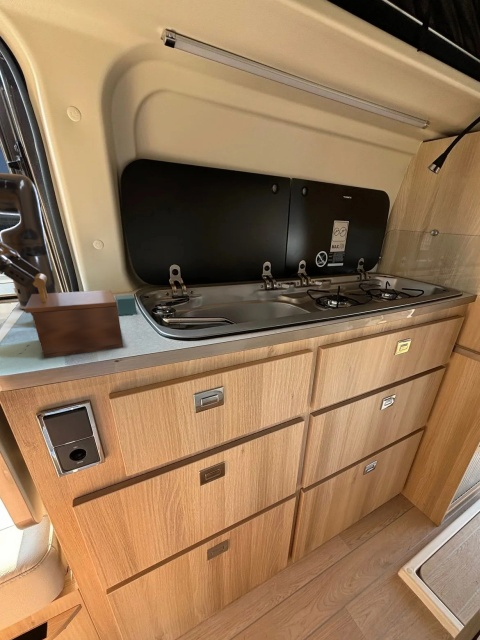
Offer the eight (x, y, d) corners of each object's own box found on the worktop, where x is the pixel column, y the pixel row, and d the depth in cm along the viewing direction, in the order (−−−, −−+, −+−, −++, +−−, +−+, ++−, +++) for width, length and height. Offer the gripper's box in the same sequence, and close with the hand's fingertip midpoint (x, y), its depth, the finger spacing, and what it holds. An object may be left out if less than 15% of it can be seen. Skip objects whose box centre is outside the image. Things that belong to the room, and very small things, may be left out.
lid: (25, 313, 50) (17, 281, 48) (32, 298, 59) (25, 271, 57) (117, 305, 57) (113, 278, 55) (111, 293, 66) (107, 269, 64)
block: (117, 311, 84) (115, 295, 82) (134, 309, 86) (132, 294, 84) (119, 315, 80) (116, 299, 78) (136, 313, 82) (134, 298, 80)
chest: (44, 358, 54) (31, 313, 51) (48, 337, 63) (37, 298, 60) (123, 347, 61) (117, 306, 57) (116, 329, 70) (111, 293, 66)
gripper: (-81, 183, 38) (46, 270, 48) (-47, 190, 49) (51, 260, 60) (-123, 225, 38) (14, 304, 48) (-78, 223, 49) (25, 287, 59)
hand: (34, 279), depth 54 cm, fingers open, 8 cm apart
